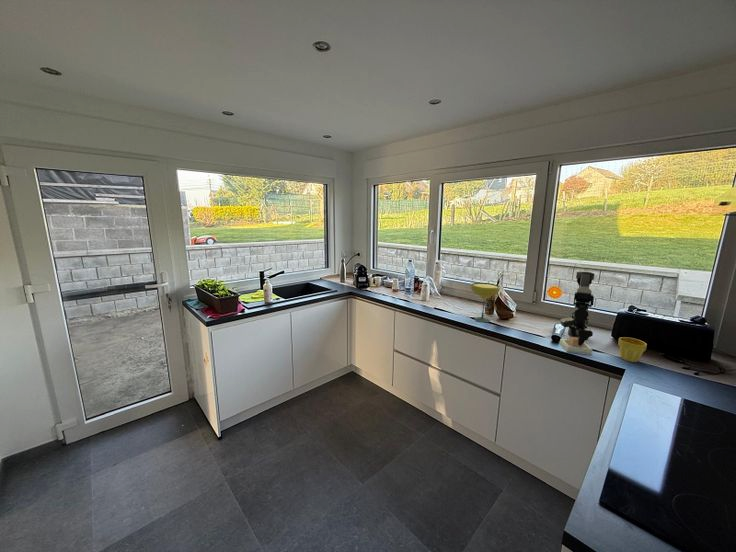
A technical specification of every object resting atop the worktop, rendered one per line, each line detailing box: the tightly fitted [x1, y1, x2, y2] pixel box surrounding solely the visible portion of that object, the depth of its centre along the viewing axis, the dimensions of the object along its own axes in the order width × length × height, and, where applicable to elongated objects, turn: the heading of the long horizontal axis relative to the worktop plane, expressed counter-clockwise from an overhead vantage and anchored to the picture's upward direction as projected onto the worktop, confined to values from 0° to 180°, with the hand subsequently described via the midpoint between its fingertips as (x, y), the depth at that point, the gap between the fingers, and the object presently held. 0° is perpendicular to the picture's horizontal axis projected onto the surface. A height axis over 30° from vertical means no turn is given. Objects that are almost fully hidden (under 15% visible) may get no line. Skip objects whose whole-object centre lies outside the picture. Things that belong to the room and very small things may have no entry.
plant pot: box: [617, 336, 648, 363], centre depth 144 cm, size 10×10×10 cm
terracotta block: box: [568, 335, 584, 348], centre depth 155 cm, size 5×5×5 cm
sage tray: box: [559, 338, 593, 356], centre depth 156 cm, size 11×11×3 cm
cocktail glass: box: [470, 282, 501, 324], centre depth 199 cm, size 18×18×25 cm
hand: (576, 342), depth 155 cm, fingers open, 9 cm apart
